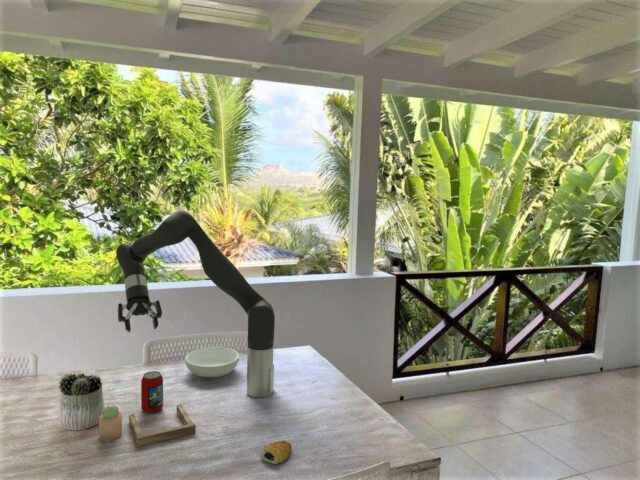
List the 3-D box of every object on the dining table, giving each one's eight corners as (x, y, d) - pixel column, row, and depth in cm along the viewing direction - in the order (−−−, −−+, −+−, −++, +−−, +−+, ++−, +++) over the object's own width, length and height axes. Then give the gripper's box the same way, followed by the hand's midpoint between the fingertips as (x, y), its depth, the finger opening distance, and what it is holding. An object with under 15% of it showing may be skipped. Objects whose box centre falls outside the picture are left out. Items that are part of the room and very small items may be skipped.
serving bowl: (173, 374, 183) (173, 357, 182) (214, 359, 200) (214, 343, 199) (210, 388, 171) (210, 370, 170) (249, 371, 188) (250, 354, 187)
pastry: (278, 444, 136) (278, 431, 135) (297, 451, 132) (298, 439, 132) (258, 459, 128) (258, 446, 127) (278, 468, 124) (279, 454, 124)
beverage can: (156, 415, 149) (156, 379, 148) (137, 412, 151) (136, 377, 149) (167, 406, 156) (167, 371, 155) (148, 403, 157) (148, 369, 156)
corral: (128, 422, 145) (128, 414, 144) (182, 411, 153) (182, 403, 153) (137, 447, 131) (137, 438, 131) (195, 433, 140) (195, 425, 140)
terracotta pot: (125, 430, 140) (125, 401, 139) (115, 441, 134) (115, 410, 133) (106, 429, 140) (105, 400, 139) (95, 440, 134) (94, 409, 133)
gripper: (155, 294, 175) (162, 332, 166) (114, 296, 168) (118, 337, 159) (158, 282, 170) (165, 321, 161) (116, 285, 162) (121, 326, 154)
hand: (142, 329), depth 160 cm, fingers open, 8 cm apart
